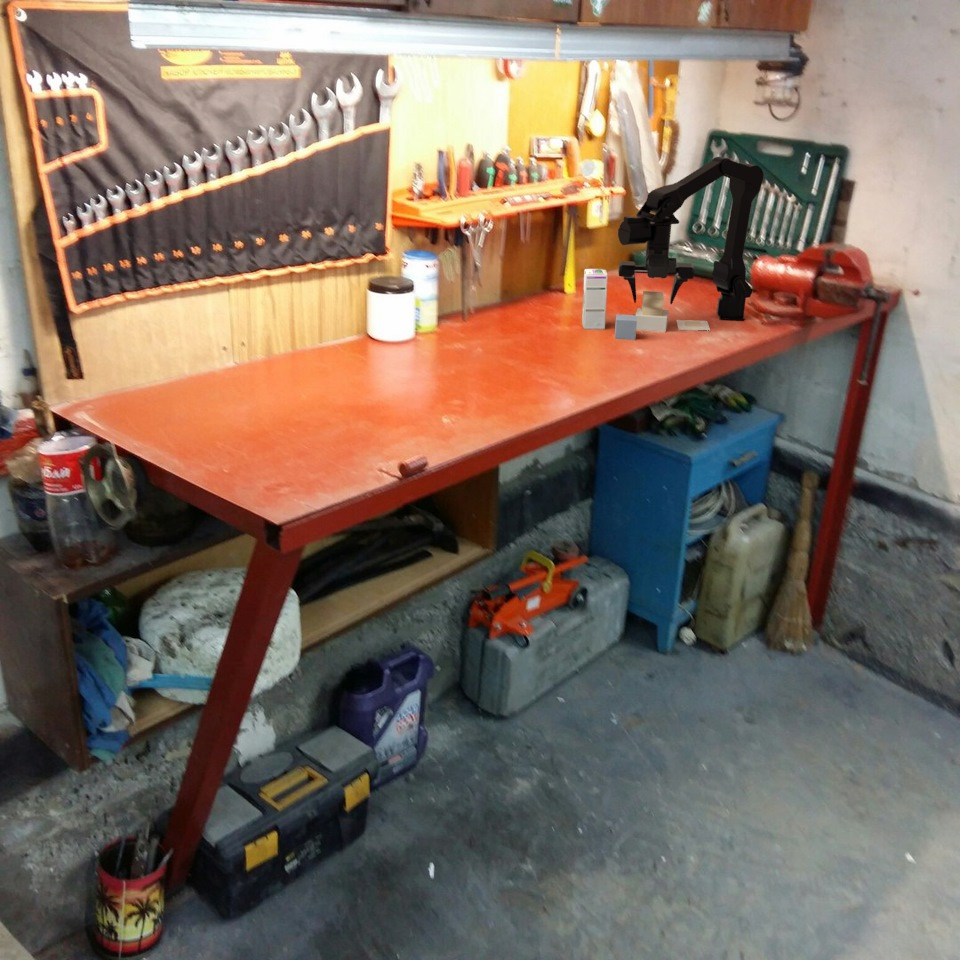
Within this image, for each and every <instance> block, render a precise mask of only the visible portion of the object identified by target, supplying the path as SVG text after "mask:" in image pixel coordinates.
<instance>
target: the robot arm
mask: <svg viewBox="0 0 960 960" xmlns="http://www.w3.org/2000/svg"><path fill="white" fill-rule="evenodd" d="M722 177H724V178H725V177H726V178H728V179H729V185H728V187H729V191H730V193H731V197H732V203H731V206H730V207H731V208H730V214H729V220H728V226H727V227H728V228H727V232H726V239H725V244H724V251H723V255H722V256H721V258H720V259H719V260H714V262H713V270H712V272H711V275H710V276H711V277H712V282H713V283H714V284H715V287H716V291H717V292H718V293H720V297H718V298H717V303H716V305H717V306H716V315H717V317H718V318H719V320H728V321H730V320H731V321H735V320H736V321H745V307H746V300H747V299H749V298H751V296H752V293H753V291H754V290H753V288H752V287H751V285H750V284H749V283H748V282H747V279H746V278H747V267H746V264H745V260H744V253H745V252H744V250H745V245H746V240H747V234H748V233H747V232H748V228H749V222H750V215H751V212H752V211H751V210H752V205H753V201H754V199H755V198H756V196H758V194H759V193H760V190H761V188H762V185H763V182H764V178H765V171H764V170H763V169H762V167H761V166H759V165H757V164H752V163H746V162H737V161H734V160H731V159H730V158H728V157H723V156H716V157H715V156H714V157H713V158H712V159H711V160H710V161H709V162H707V163H706V164H704V165H703V166H701V167H699V168H698V169H696V170H694V171H693V172H691V173H690V174H688V175H687V176H684V177H683V178H682V179H680V180H678V181H677V182H673V183H670V184H666V185H663V186H660V187H657V188H655V189H652V190H651V191H650V192H649V193H648V194H647V198H646V200H645V202H643V205H642V206H641V208H640V209H639V211H638V212H636V215H635V216H624V217H623V221H622V222H621V223H620V224H619V228H618V229H617V237H618V239H619V243H620V244H621V245H622V246H629V245H631V246H632V245H642V244H645V245H646V247H645V248H646V249H645V259H644V265H640V264H639V265H638V264H637V265H635V264H636V263H635V261H629V260H626V261H623V260H621V261H619V263H618V269H617V270H618V277H622V278H623V280H625V281H627V282H628V284H629V287H630V290H631V294H632V299H633V302H634V304H636V303H637V288H636V287H637V286H636V285H637V284H636V274H647V277H648V278H649V279H655V278H658V279H666V278H667V277H668V275H674V277H673V282H672V285H671V286H672V287H671V292H670V296H669V297H670V301H669V303H670V305H672V304H673V302H674V300H675V299H676V296H677V293H678V291H679V289H680V288H681V286H682V285H683V284H684V283H687V282H688V281H689V280H692V279H694V277H695V269H694V265H692V263H687V262H683V263H682V262H677V257H669V255H670V241H671V233H672V225H678V224H680V220H679V219H678V218H677V217H676V216H675V213H676V212H677V211H678V210H679V209H680V208H682V206H683V205H684V202H685V201H686V200H688V199H689V198H690V197H691V196H693V195H695V194H696V193H698V192H700V191H701V190H702V189H704V188H705V187H707V186H709V185H710V184H712V183H714V182H716V181H717V180H718V179H720V178H722Z"/></svg>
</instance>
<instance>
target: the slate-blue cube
mask: <svg viewBox="0 0 960 960" xmlns="http://www.w3.org/2000/svg"><path fill="white" fill-rule="evenodd" d="M614 325H615V327H614V340H621V339H623V340H626V341H629V340H630V341H636V337H637V336H636V335H637V330H636V325H637V318H636V314H635V315H633V314H616V315H615V324H614ZM623 340H622V341H623Z"/></svg>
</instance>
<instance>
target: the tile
mask: <svg viewBox="0 0 960 960" xmlns="http://www.w3.org/2000/svg"><path fill="white" fill-rule="evenodd" d="M675 321H676V325H677V329H678V331H679V330H680V331H698V330H707V331H706V332H711V328H710V326H709V323H708V321H707V320H697V319H696V320H692V319H691V320H690V319H689V320H688V319H676V320H675ZM708 330H709V331H708Z"/></svg>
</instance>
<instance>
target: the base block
mask: <svg viewBox="0 0 960 960" xmlns="http://www.w3.org/2000/svg"><path fill="white" fill-rule="evenodd" d="M669 311H670V310H669V309H663V313H662V316H651V315H642V307H637V310H636V312H635V315H636V318H637V325H636V331H647V332H656V333H657V332H659V333H666V331H667V328H668V324H669V323H668V321H669Z"/></svg>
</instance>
